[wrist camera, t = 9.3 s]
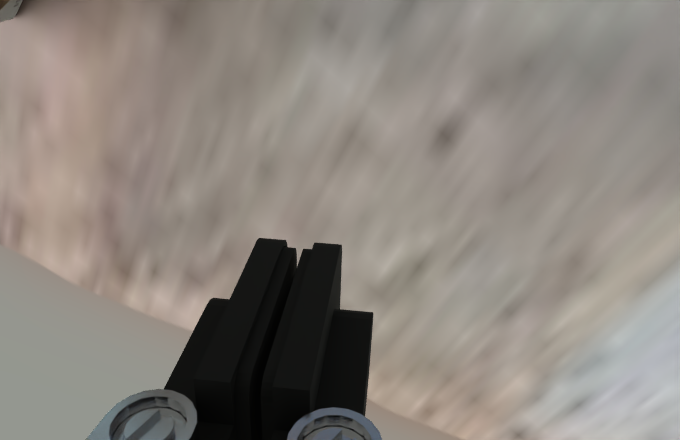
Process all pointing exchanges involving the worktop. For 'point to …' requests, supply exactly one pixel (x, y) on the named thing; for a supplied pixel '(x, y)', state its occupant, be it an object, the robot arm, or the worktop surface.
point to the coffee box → (9, 9)
